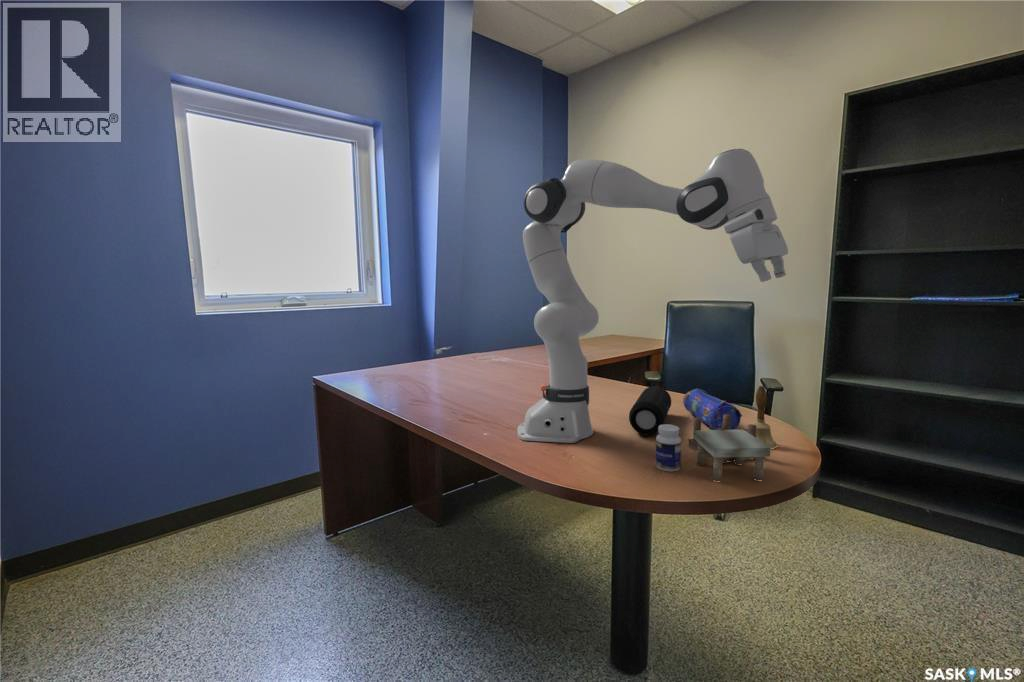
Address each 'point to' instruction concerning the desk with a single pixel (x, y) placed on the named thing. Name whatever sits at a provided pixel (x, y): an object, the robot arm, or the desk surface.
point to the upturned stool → (726, 426)
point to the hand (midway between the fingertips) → (774, 278)
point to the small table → (730, 449)
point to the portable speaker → (650, 410)
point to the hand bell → (761, 427)
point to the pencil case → (711, 409)
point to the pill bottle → (668, 448)
